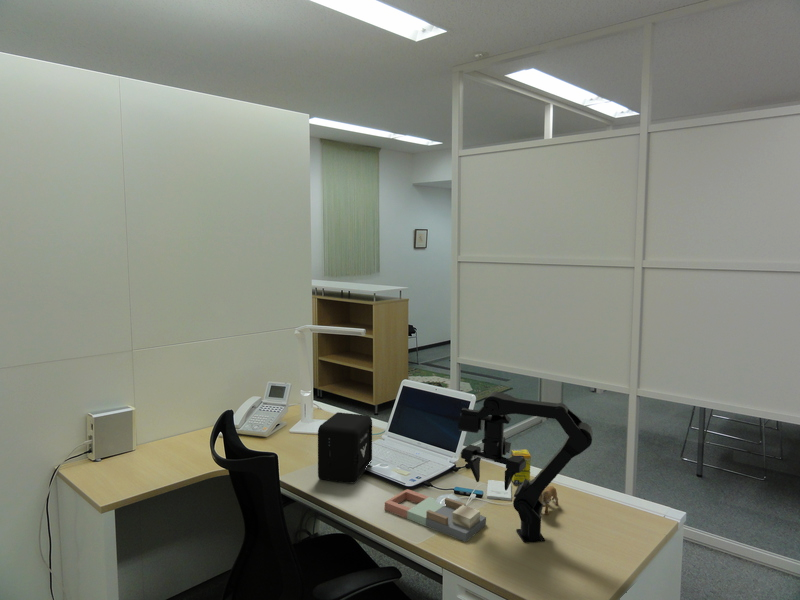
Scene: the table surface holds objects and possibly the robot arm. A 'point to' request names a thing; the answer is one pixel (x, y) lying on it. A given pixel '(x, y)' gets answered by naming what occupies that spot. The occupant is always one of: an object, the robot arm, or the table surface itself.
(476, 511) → the block
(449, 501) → the board
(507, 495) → the external hard drive
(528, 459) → the supplement box
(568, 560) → the table surface
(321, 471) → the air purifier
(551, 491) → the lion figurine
